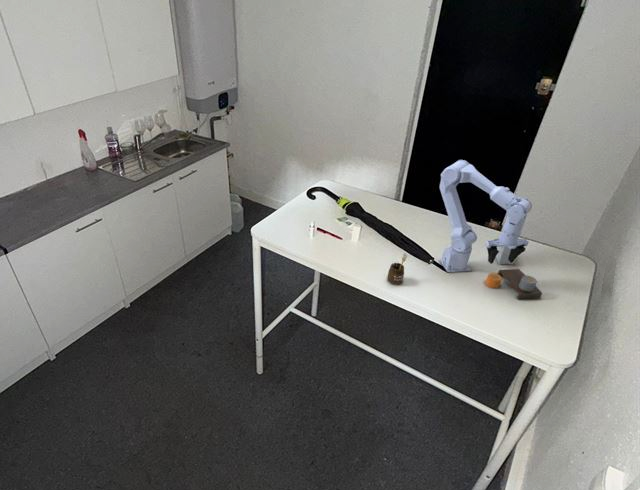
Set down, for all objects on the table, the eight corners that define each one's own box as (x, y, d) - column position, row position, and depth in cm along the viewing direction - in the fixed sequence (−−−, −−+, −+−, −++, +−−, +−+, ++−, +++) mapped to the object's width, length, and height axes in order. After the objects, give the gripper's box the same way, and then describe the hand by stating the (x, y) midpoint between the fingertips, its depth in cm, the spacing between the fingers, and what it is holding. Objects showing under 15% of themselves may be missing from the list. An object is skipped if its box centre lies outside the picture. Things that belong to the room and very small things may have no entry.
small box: (513, 265, 167) (521, 243, 161) (498, 263, 168) (506, 242, 162) (507, 254, 173) (515, 233, 167) (493, 253, 174) (500, 232, 168)
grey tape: (523, 292, 149) (526, 283, 147) (516, 283, 153) (519, 275, 150) (536, 291, 149) (539, 283, 147) (528, 283, 153) (532, 275, 150)
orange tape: (489, 288, 155) (491, 280, 153) (482, 281, 159) (485, 273, 157) (501, 288, 155) (504, 280, 153) (494, 280, 159) (497, 272, 157)
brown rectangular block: (518, 299, 149) (520, 294, 148) (497, 275, 162) (499, 269, 160) (539, 298, 149) (542, 292, 148) (516, 273, 162) (519, 268, 160)
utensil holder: (384, 278, 163) (388, 254, 156) (396, 274, 165) (401, 249, 158) (393, 286, 159) (398, 261, 152) (406, 282, 161) (411, 257, 154)
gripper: (497, 238, 142) (486, 268, 150) (538, 236, 142) (525, 266, 150) (487, 227, 148) (477, 258, 156) (526, 225, 148) (514, 256, 156)
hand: (500, 261), depth 153 cm, fingers open, 7 cm apart
